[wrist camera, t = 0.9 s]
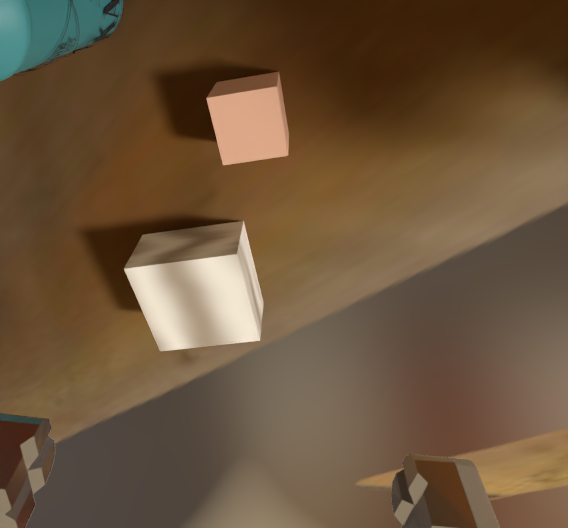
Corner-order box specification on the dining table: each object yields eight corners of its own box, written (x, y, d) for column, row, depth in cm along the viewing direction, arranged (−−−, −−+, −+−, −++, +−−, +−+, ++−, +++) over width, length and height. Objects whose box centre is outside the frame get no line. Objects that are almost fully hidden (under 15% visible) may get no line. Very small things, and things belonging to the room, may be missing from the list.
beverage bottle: (23, -17, 32) (-271, 9, 15) (79, -93, 29) (-199, -161, 13) (97, 60, 35) (-84, 151, 18) (154, -4, 32) (5, 34, 16)
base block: (243, 219, 43) (236, 254, 38) (263, 301, 48) (259, 340, 43) (143, 233, 44) (123, 268, 39) (174, 311, 49) (160, 351, 44)
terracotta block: (279, 71, 35) (276, 86, 31) (288, 134, 38) (288, 155, 34) (216, 81, 35) (206, 98, 31) (231, 143, 38) (223, 165, 34)
